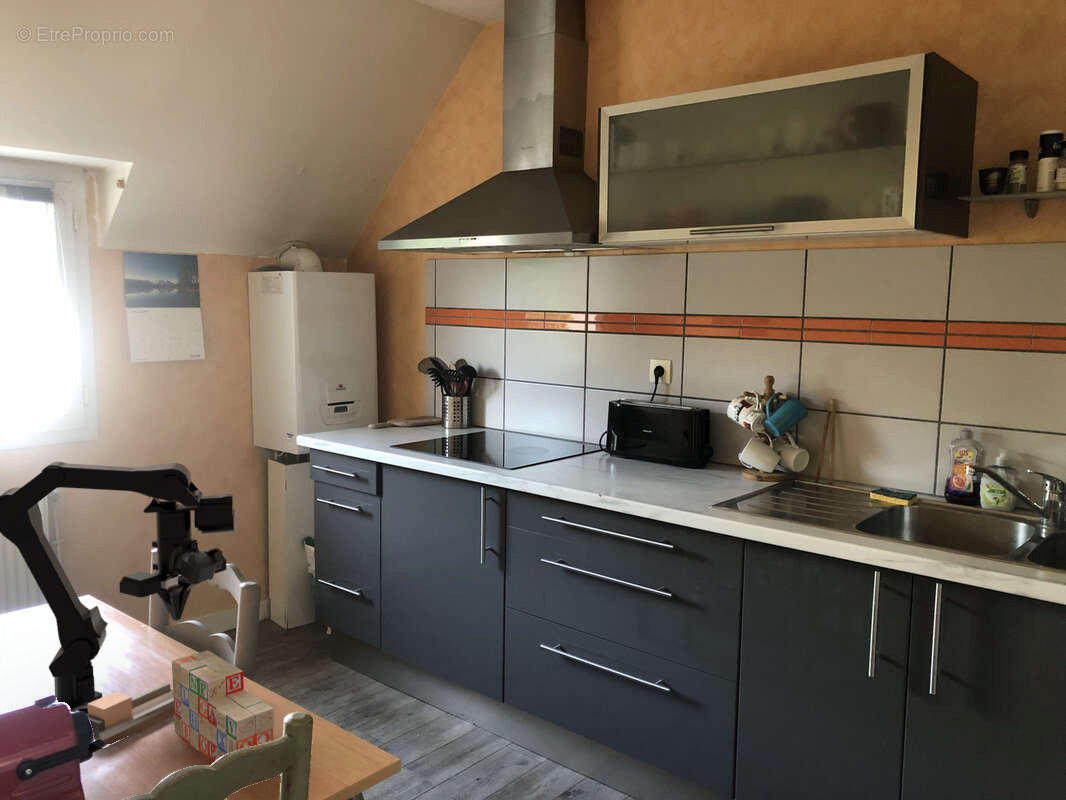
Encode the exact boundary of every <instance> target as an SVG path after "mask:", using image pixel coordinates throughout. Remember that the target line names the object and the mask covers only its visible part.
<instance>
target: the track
mask: <svg viewBox="0 0 1066 800" xmlns="http://www.w3.org/2000/svg"><path fill="white" fill-rule="evenodd" d="M85 714H86V715H87V716H88V718H89V720H90V722H91V725H92V728H93V733H94V739H95V740H102V741H103V742H104V743H106V744H112V743H114V742H116V741H118V740H121V739H123V738H126V737H127V736H130V735H132V734H134V733H136V734H138V733H140V732H142V731H144V730H146V729H149V728H150V727H152V726H154V725H156V724H158V723H160V722H162V721H164V719H165V720H166V718H167V719H169V718H171V717H172V715H173V716H174V714H175V713H174V696H173V688H172V689H171V683H170V682H164V683H162V684H160V685H157V686H155V687H153V688H152V689H149V690H146V691H145V692H141V693H139V694H138V695H136V696H133V697H132V717H131V718H129V719H127V720H125V721H123V722H120V723H118V724H116V725H114V726H112V727H110V728H108V729H106V730H105V721H104V720H102V719H99V718H96V717H93V716H91V715H88V713H85ZM170 716H171V717H170ZM168 717H169V718H168ZM153 724H154V725H153ZM143 729H144V730H143ZM141 730H142V731H141ZM139 731H140V732H139ZM137 732H138V733H137ZM134 735H135V734H134ZM132 736H133V735H132ZM130 737H131V736H130ZM126 739H127V738H126Z"/></svg>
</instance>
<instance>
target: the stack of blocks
mask: <svg viewBox="0 0 1066 800" xmlns="http://www.w3.org/2000/svg"><path fill="white" fill-rule="evenodd" d="M171 671H172V673H171V674H172V690H173V696H174V713H175V714H174V715H173V720H174V721H173V722H174V723H173V724H174V732H176V733H177V734H178V735H180V737H182V739H184V740H185V741H186V742H187V743H188V744H190V746H192V747H193V748H194V749H195V750H197V751H198V752H200V753H202V754H203V755H204V756H205V757H207V758H208V759H210V760H211V761H212V762H213V761H215V760H216V759H218V758H219V757H221V756H223V755H225V754H227V753H230V752H233V751H235V750H238V749H241V748H245V747H249V746H254V745H258V744H262V743H265V742H269V741H273V742H274V726H275V725H274V724H275V723H274V721H275V720H274V718H275V717H274V713H275V712H274V707H272V706H271V705H270V704H268V703H265V702H264V701H263V700H262V699H260V698H258V697H257V696H256V695H253V694H252V693H251V692H249V691H247V690H244V688H245V685H244V682H245V681H244V680H245V679H244V678H245V677H244V671H243V670H242V669H241V668H238V666H235V665H233V664H231V663H230V662H228V661H226V660H225V659H224V658H223V659H222V657H220V656H218V655H216V654H215V653H213V652H212V651H210V650H208V649H207V650H204V651H200V652H198V653H194V654H191V655H187V656H183V657H180V658H177V659H173V660H171Z"/></svg>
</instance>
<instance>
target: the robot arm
mask: <svg viewBox="0 0 1066 800" xmlns="http://www.w3.org/2000/svg"><path fill="white" fill-rule="evenodd" d="M58 488H62V489H63V488H65V489H83V490H101V491H121V492H132V493H137V494H141V495H142V496H146V497H149V498H152V499H151V501H150V502H149V503H148V504H146V506H144V508H143V513H145V514H155V517H156V518H155V519H156V540H152V541H151V548H155V549H156V551H157V552H156V554H157V557H156V558H157V561H156V562H155V563H152V570H153V571H154V570H155V571H157V572H156V573H150V572H145V571H137V572H134V573H130V574H126V575H124V576H122V577H121V578H120V580H119V593H120V594H124V595H129V596H133V597H136V598H146V597H150V596H152V595H155V594H157V595H158V596H159V598H160V599H161V601H162V603H163V605H164V606H165V607H166V610H167V612H168V614H169V615H170V618H171V619H172V621H179V620H181V618H182V616H183V612H184V611H185V607H186V604H187V601H188V599H189V596H190V593H191V591H192V589H194V588H195V587H196V586H197V585H199V584H201V583H202V582H205V581H211V580H213V579H214V577H215V574H219V573H221V572H225V571H227V559H226V558H225V556H224V555H223V550H221V549H220V548H219V547H215V548H212V549H209V550H208V551H207V550H203V551H201V550H200V549H199V543H198V541H197V540H198V539H196V538H195V539H194V538H192V511H193V513H194V515H193V521H194V522H193V523H194V529H197V531H198V532H199V531H201V534H202V535H203V534H218V533H235V530H236V510H235V507H234V506H235V505H234V495H233V494H232V493H227V494H226V493H224V494H220V495H204V494H203V492H202V491H201V490H200V488H198V486H196V484H195V483H194V482H193V481H192V475H191V472H190V470H189V469H188V468H187V467H186V466H185V465H183V464H182V463H178V462H169V463H159V464H152V465H147V466H145V465H144V466H140V467H139V466H138V467H130V466H115V465H114V466H112V465H98V464H97V465H95V464H79V463H69V462H68V463H67V462H64V461H54V462H52V463H51V462H50V464H48V465H46V466H45V467H44V468H42V469H41V472H40V473H38V474H37V475H36V476H35V477H33V478H31V479H30V480H29V481H28V482H27V483H25V484H24V485H23V486H21V487H13V488H9V489H8V490H6V491H4V492H3V493H1V494H0V534H1V535H2V537H4V538H5V539H6V540H8V541H9V542H10V543H12V544H13V545H14V546H15V547H16V548H17V549H18V551H19V553H20V555H21V557H22V559H23V561H24V562H25V564H26V566H27V568H28V570H29V571H30V573H31V576H32V577H33V579H34V581H35V582H36V584H37V586H38V588H39V590H40V592H41V594H42V596H43V597H44V598H45V601H46V603H47V605H48V607H49V608H50V610H51V612H52V614H53V616H54V617H55V621H56V629H57V636H58V641H59V644H60V647H59V649H58V651H57V653H56V654H55V656H54V657H53V659H52V661H51V662H50V664H49V665H48V669H49V672H50V674H51V676H52V677H53V679H54V696H56V697H57V700H58V702H65V703H67V704H68V705H69V706H70V708H71V710H70V711H72V710H74V709H77V708H79V707H81V706H84V705H86V704H88V703H91V702H93V701H95V700H97V699H100V698H102V697H103V693H102V692H100V691H97V690H96V689H95V684H96V683H95V675H94V665H93V662H92V660H94V659H95V658H96V657H97V656H98V654H99V652H100V650H101V648H102V646H103V644H104V642H105V640H106V638H107V626H108V624H109V623H108V622H107V621H106V620H104V618H103V617H102V614H101V612H100V608H99V606H98V605H95V606H93V607H92V608H89V607H87V606H86V605H85V604H83V603H82V602H81V600H80V598H79V596H78V594H77V592H76V590H75V589H74V586H73V585H72V583H71V582H70V580H69V577H68V576H67V574H66V572H65V571H64V568H63V566H62V564H61V563H60V560H59V559H58V557H57V555H56V553H55V552H54V549H53V548H52V545H51V544H50V541H49V540H48V538H47V536H46V533H45V532H44V526H43V525H44V524H43V523H44V522H43V518H42V512H41V508H40V506H39V502H40V501H42V500H43V499H44V498H46V496H48V495H50V494H51V493H52V492H53V491H54V490H56V489H58ZM203 495H204V496H203Z"/></svg>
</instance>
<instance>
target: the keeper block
mask: <svg viewBox="0 0 1066 800" xmlns="http://www.w3.org/2000/svg"><path fill="white" fill-rule="evenodd" d="M132 698H133V697H132V696H129V695H127V694H123V693H121V692H118V691H114V692H112V693H111V692H110V693H109V694H106V695H105V696H102V697H100V698H98V699H95V700H93V701H91V702H88V703H87V714H88V715H91V716H93V717H96V718H99V719H102V720H104V721H105V730H106V729H108V728H110V727H112V726H114V725H116V724H118V723H120V722H123V721H125V720H127V719H129V718H131V717H132Z"/></svg>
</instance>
